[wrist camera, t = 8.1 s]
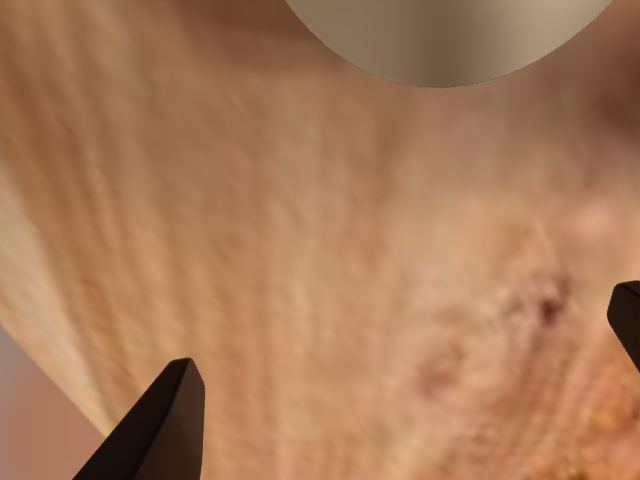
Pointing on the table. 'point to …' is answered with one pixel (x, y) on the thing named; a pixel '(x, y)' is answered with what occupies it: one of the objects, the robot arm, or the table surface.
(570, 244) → the table surface
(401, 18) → the lid
